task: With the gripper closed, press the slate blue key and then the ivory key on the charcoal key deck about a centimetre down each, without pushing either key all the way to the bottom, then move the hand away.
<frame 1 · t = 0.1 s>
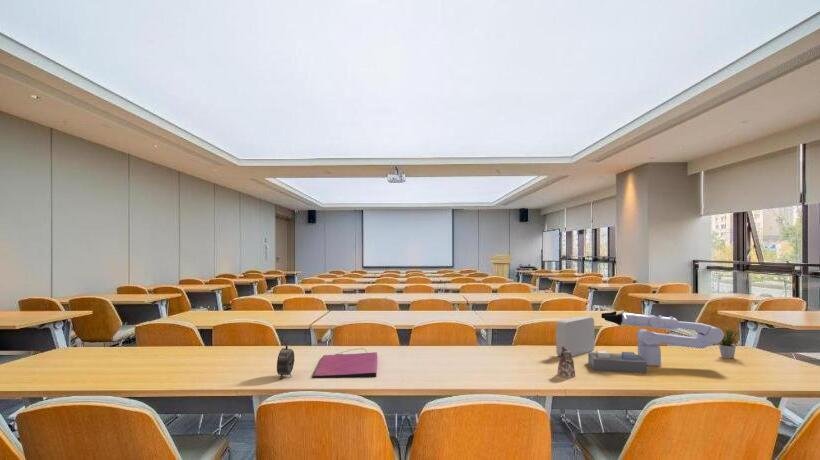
hand: (603, 316, 217), 22 cm above the table, tool horizontal, fingers open, 7 cm apart
house plant: (730, 358, 223), on the table
laptop bag: (348, 366, 208), on the table
rounded white slab: (576, 353, 232), on the table
slate blue key: (629, 358, 203), point 5 cm above the table, slide at 0.0 cm
key deck: (616, 367, 204), on the table
alarm clock: (286, 377, 189), on the table
ivory key: (603, 356, 205), point 5 cm above the table, slide at 0.0 cm
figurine: (566, 375, 192), on the table
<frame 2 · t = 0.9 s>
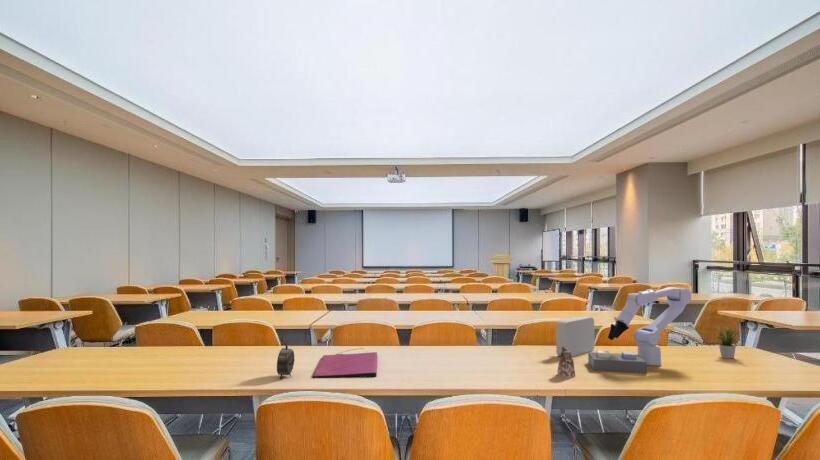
hand: (612, 337, 208), 13 cm above the table, tool tilted 40°, fingers open, 7 cm apart
nothing on the table moved.
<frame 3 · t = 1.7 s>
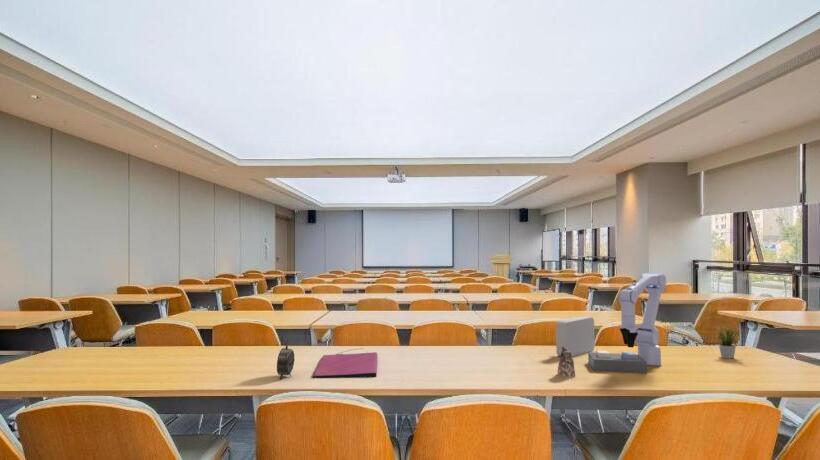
hand: (628, 345, 203), 10 cm above the table, tool pointing down, fingers open, 6 cm apart
nothing on the table moved.
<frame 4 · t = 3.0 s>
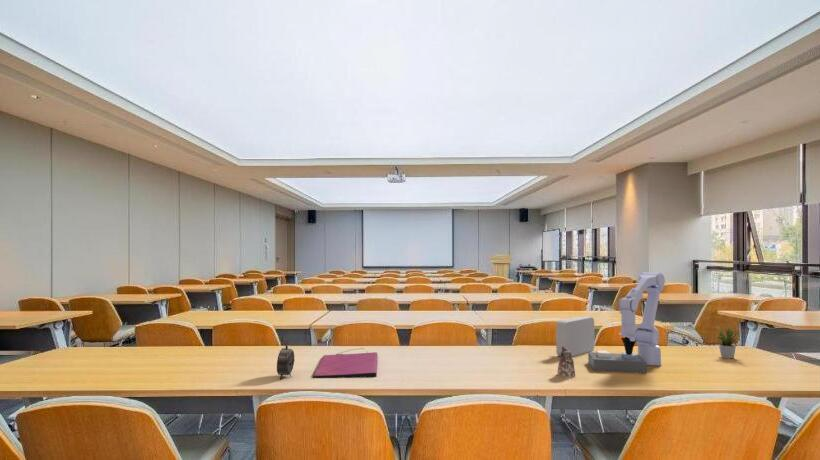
hand: (628, 354, 203), 7 cm above the table, tool pointing down, fingers closed, pressing on slate blue key
slate blue key: (629, 359, 203), point 4 cm above the table, slide at 0.4 cm, touching gripper
everything else where it was.
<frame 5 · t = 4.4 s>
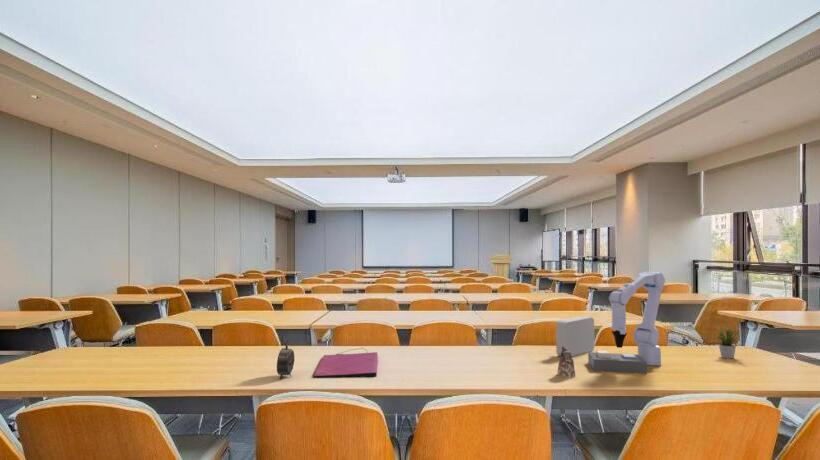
hand: (619, 347, 204), 10 cm above the table, tool pointing down, fingers closed
slate blue key: (629, 360, 203), point 4 cm above the table, slide at 1.1 cm
everything else where it was.
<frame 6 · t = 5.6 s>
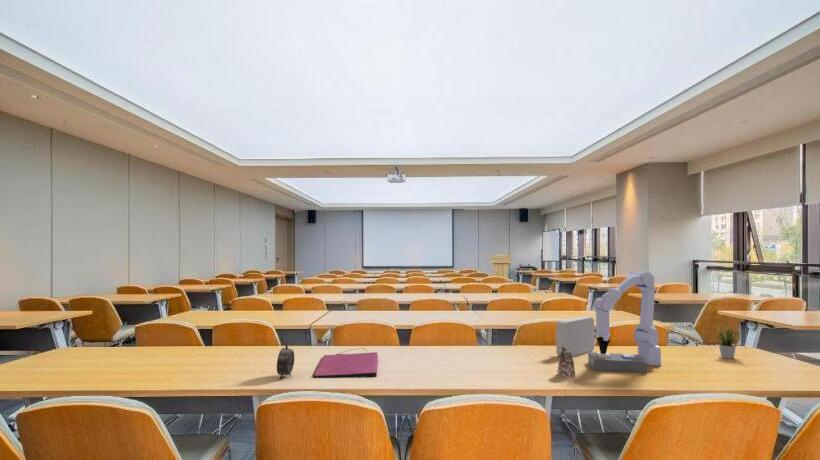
hand: (603, 353, 205), 6 cm above the table, tool pointing down, fingers closed, pressing on ivory key
ivory key: (603, 358, 205), point 4 cm above the table, slide at 0.7 cm, touching gripper
everything else where it was.
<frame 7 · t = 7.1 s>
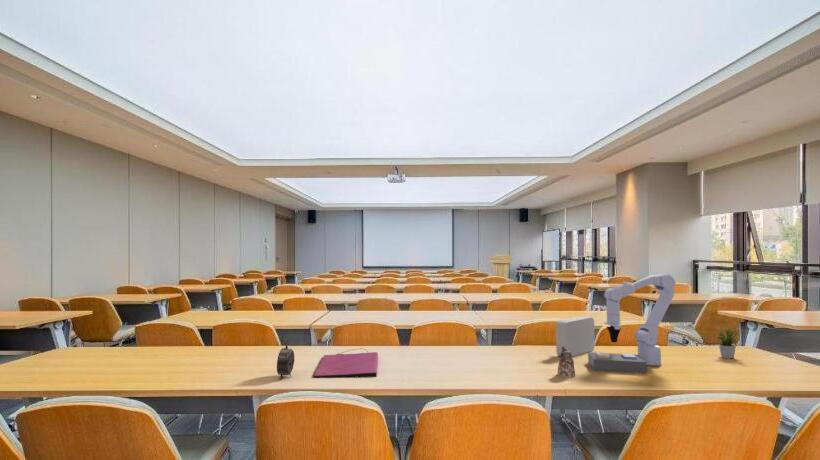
hand: (614, 342, 212), 10 cm above the table, tool pointing down, fingers closed
ivory key: (603, 359, 205), point 4 cm above the table, slide at 1.0 cm
everything else where it was.
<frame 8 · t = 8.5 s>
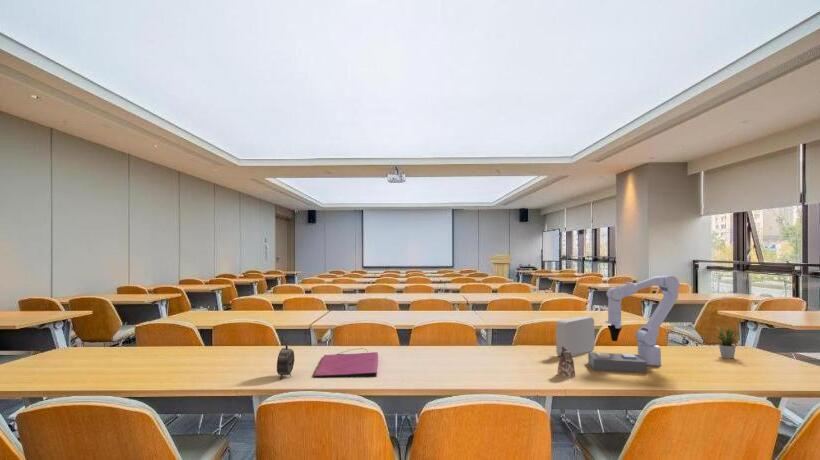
hand: (614, 340, 214), 10 cm above the table, tool pointing down, fingers closed
nothing on the table moved.
at the end: slate blue key slide at 1.1 cm; ivory key slide at 1.0 cm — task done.
